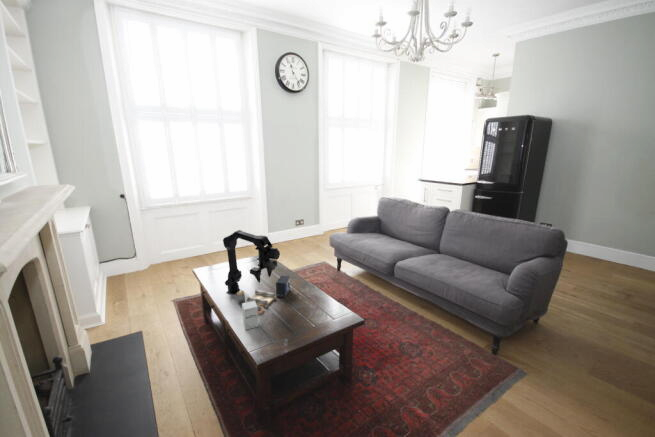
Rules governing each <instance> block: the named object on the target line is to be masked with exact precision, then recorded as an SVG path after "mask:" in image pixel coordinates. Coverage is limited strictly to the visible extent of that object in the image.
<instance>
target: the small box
mask: <svg viewBox="0 0 655 437" xmlns="http://www.w3.org/2000/svg"><path fill="white" fill-rule="evenodd" d="M290 278H291V277H290V276H289V275H280V277H279V278H278V279H277V280H276V282H275V289H276V290H275V293H276V294H275V296H276V298H277V297H279V298H286V297H287V296H288V294H289V293H290V291H291V279H290Z"/></svg>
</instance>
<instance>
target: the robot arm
mask: <svg viewBox="0 0 655 437" xmlns="http://www.w3.org/2000/svg"><path fill="white" fill-rule="evenodd" d="M239 239H240V240H243V241H246V242H249V243H252V244H253V245H254V246H256V247H255V248H254V250H257V251H258V255H257V256H258V258H256V259H257V261H258V264H257V266H258V267H255V266H254V267H252V268H250V269H249V274H250V275H253V276H254V278H255V279H256V281H257V282H258V283H259V284H260V283H261V276H262V270H265V269H266V271H267V276H268V278H270V277H271V275H272V272H273V271H274V270H276V267H278V261H277V260H278V259H279V258H280V254H281V252H280V250H278V248H276V247H273V244H272V242H271V240H270V239H269V238H268V236H266V235H255V234H253V233H249V232H246V231H243V230H241V229H238V230H236V231H234V232H232V233H231V234H230V235H227V236H225V237H224V238H223V240H222V242H223V247H224V248H225V249H226V250H227V259H228V265H229V266H228V268H229V271H228V274H227V279H226V281H225V282H224V285H225V286H227V291H226V293H227V294H232V295H237V292H238V291H241V289H240V285H239V282H240V281H241V279H242V276H243V275H242V270H239V269H238V262H237V253H236V247H237V245H238V240H239Z"/></svg>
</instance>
